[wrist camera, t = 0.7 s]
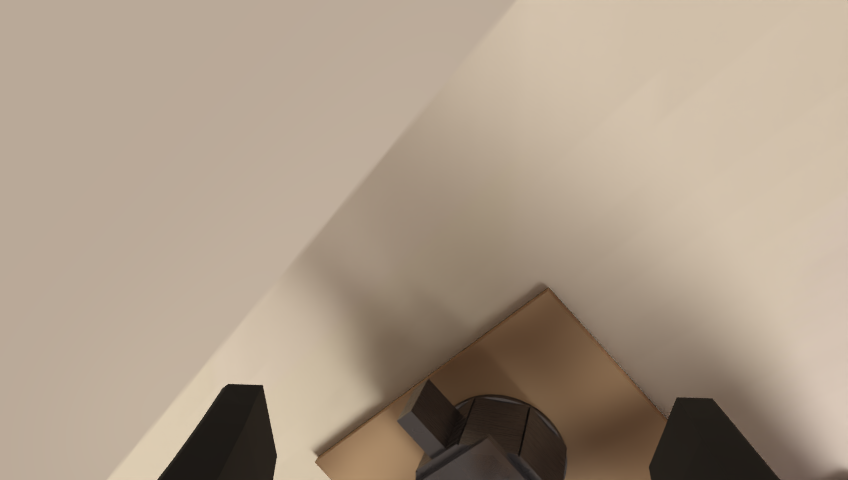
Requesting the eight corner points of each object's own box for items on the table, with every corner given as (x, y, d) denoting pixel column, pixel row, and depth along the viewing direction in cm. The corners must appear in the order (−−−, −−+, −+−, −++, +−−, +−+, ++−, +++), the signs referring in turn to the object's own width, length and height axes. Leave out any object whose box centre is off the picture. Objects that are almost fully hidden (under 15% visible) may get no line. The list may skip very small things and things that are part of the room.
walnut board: (722, 481, 30) (724, 488, 30) (462, 611, 38) (460, 618, 37) (548, 287, 30) (547, 291, 29) (318, 456, 37) (314, 462, 37)
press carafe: (595, 470, 32) (593, 540, 27) (495, 526, 34) (478, 597, 30) (475, 337, 31) (452, 386, 27) (383, 404, 34) (350, 459, 30)
